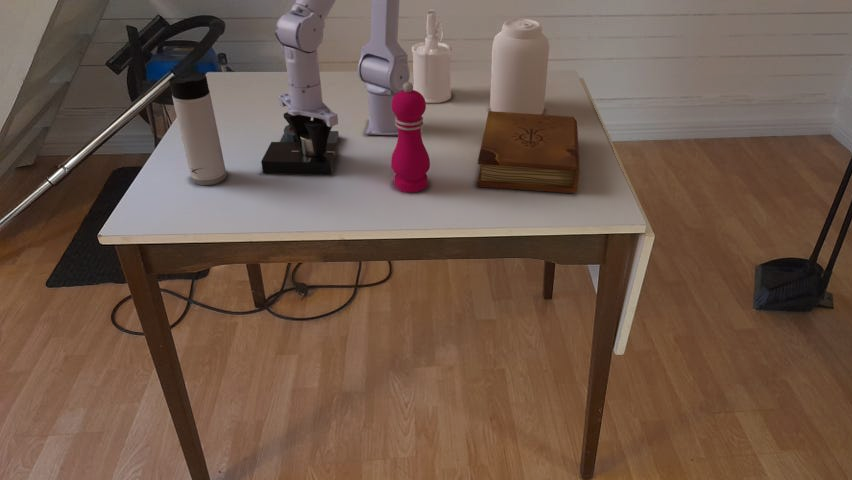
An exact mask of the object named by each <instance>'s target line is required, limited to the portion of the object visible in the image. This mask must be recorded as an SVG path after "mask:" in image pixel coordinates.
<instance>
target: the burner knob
mask: <svg viewBox="0 0 852 480" xmlns="http://www.w3.org/2000/svg"><path fill="white" fill-rule="evenodd" d="M300 138H301V146H302V153H303V154H304V155H305V156H311V157H312V156H317V155H315V153H314V150H313V145H312V140H311V137H310V134H309V132H308V131H306V132H303V133H302V134H301V135H300Z"/></svg>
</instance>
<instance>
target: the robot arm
mask: <svg viewBox="0 0 852 480" xmlns="http://www.w3.org/2000/svg"><path fill="white" fill-rule="evenodd" d="M335 3H336V0H295V2H294V3H293V6H292V7H291V9H290V10H289V12H286V13H285V14H283V15H282V16H281V17H279V18H278V20H277V21H276V24H275V31H273V35H274V39H275V40H276V42H277V43H278V44H279V45H280V47H281V53H282V54H283V55H284V59H285V60H284V61H285V68H286V74H287V81H288V83H287V84H288V89H289V93H287V92H286V93H283V94H280V95H278V101H279V106H280V107H283V108H284V107H287V108H288V109H287V112H284V113H283V119H285V121H286V122H287V124H288V125H290V126H291V128H292V130H293V132H294V134H295V137H296V139H297V142H298V144H299V146H300V148H302V146H301V138H300V135H301V134H302V133H303V132H306V131H308V132H309V134H310V137H311V140H312V145H313V150H314V153H315V155H317V156H318V155H321V154H323V153H325V152H326V146H327V140H328V136H329V133H330V131H332V128H333V127H335V126H337V125H339V118H338V114H337V113H335V112H334V111H332V110H331V109H330V108H329V107H328V106H327V105H326V104H325V103H324V101H323V92H322V83H321V82H322V81H321V75H320V74H321V73H320V63H319V55H318V54H319V53H318V48H320V45H321V44H322V42H323V39H324V29H325V24H326V22H325V21H326V19H327V17H328V15H329V13H330V12H331V10H332V8H333V6H334V5H335ZM370 12H371V13H370V40H369V41H368V42H367V43H365V44H364V45H363V46H362V47H361V49H360V58H359V60H358V63H357V75H358V78H359V80H360V81H361V82H362V83H363V85H364V88H366V92H367V93H366V94H367V106H368V108H367V109H368V124H367V127H366V130H365V134H366V135H367V136H398V128H397V127H396V125H395V122H396V121H395V117H396V115H395V114H394V113H393V111H392V99H393V97H394V96H395V95H396V94H397V93H398V92H400V91H402V90H403V85H404V84H405V83H406V82H410V76H411V75H410V74H411V73H410V68H409V61H408V58H409V55H408V53H407V52H406V51H405V49H404V48H403V47H402V46H401V45H400V44H399V43H398V39H399V20H400V19H399V17H400V0H371V11H370Z"/></svg>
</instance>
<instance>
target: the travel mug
mask: <svg viewBox="0 0 852 480" xmlns="http://www.w3.org/2000/svg"><path fill="white" fill-rule="evenodd" d="M168 83H169V87H170V91H171V97H172V102H173V107H174V110H175V114H176V119H177V123H178V127H179V132H180V136H181V141H182V144H183V150H184V153H185V158H186V162H187V165H188V170H189V175H190V178H191V181H192V182H193V183H194V184H196V185H200V186H212V185H216V184H219V183H221V182H222V181H224V180H225V179H226V177H227V171H226V165H225V161H224V156H223V155H224V154H223V151H222V150H223V149H222V146H221V140H220V136H219V131H218V126H217V120H216V115H215V111H214V106H213V101H212V96H211V92H210V91H211V90H210V87H209V83H208V78H207V75H206V74H202V73H190V74H188V75H180V74H179V75H176V76H175V75H174V76H172V77H170V78H169V79H168Z"/></svg>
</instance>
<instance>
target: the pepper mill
mask: <svg viewBox="0 0 852 480" xmlns="http://www.w3.org/2000/svg"><path fill="white" fill-rule="evenodd" d="M426 109H427V103H425V99H424V97H423V96H422V95H421V94H420V93H419V92H417V91H415V90H414V84H413V83H412V82H410V81H408V82H406V83H405V84H404V85H403V90H402V91H400V92H398V93H397V94H396V95H395V96H394V97H393V99H392V111H393V113H394V114H395V115H396V117H395V121H396V122H395V125H396V127H397V128H398V135H397V142H396V145H395V148H394V150H393V151H392V153H391V154H392V155H391V157H390V168H391V170H392V172H393V173H394V176H393V179H394V186H395V188H396V189H397V190H398V191H400V192H403V193H411V194H413V193H418V192H422V191H424V190H426V188H427V187H428V185H429V177H428V176H429V175H428V174H427V173H428V172H429V171H430V168H431V160H430V157H429V153H428V150H427V149H426V147H425V144H424V141H423V139H422V127H423V126H424V117H423V115H424V114H425V112H426Z"/></svg>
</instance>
